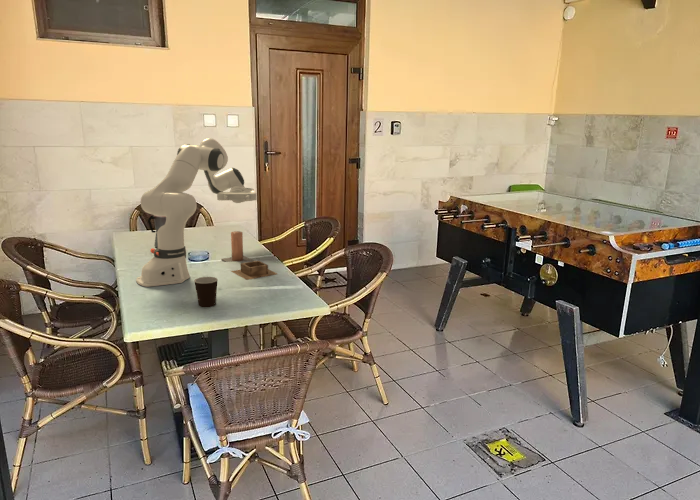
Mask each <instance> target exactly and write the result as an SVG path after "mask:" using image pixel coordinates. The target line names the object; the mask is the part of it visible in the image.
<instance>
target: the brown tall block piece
mask: <svg viewBox="0 0 700 500" xmlns="http://www.w3.org/2000/svg"><path fill="white" fill-rule="evenodd" d="M230 237H231V238H230V240H231V241H230V245H231V257H232V261H239V262H243V261H242V260H243V256H244V244H243V243H244V240H243V239H244V238H243V237H244V236H243V231H240V230H235V231H231V232H230Z"/></svg>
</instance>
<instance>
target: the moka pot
mask: <svg viewBox="0 0 700 500" xmlns="http://www.w3.org/2000/svg"><path fill="white" fill-rule="evenodd" d="M151 220H153V221H154V228H155V230H154V229H153V226H152V222H151ZM147 223H148V225H149V228H150V231H151V233H155V238H154V248H158V238H157V231H158V229H159V228H160V227H161V226H163V225H165V223H166V216H158V215H150V217H148V219H147Z"/></svg>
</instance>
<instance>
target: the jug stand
mask: <svg viewBox="0 0 700 500" xmlns="http://www.w3.org/2000/svg"><path fill="white" fill-rule="evenodd" d="M230 272H232V273H233V274H235V275H237V276H238V277H240V278H242V279H244V280H246V281H248V280H255V279H260V278H265V277H270V276H271V277H272V276H275V275H276V276H277V275H278V273H277V272H276V271H273V270H271V269H269V264H267V263H265V262H263V261H260V260H254V261H246V262H241V263H240V269H237V270H230Z"/></svg>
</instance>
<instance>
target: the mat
mask: <svg viewBox="0 0 700 500" xmlns="http://www.w3.org/2000/svg"><path fill="white" fill-rule="evenodd" d="M221 261H222V262H224V263H232V262H234V263H235V262H236V263H237V262H240V261H232V256H231V257H230V256H229V257H225V258H221ZM253 261H255V260H253V259H251V258H249V257H247V256H245V255H243V260H242V261H241V262H253Z"/></svg>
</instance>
